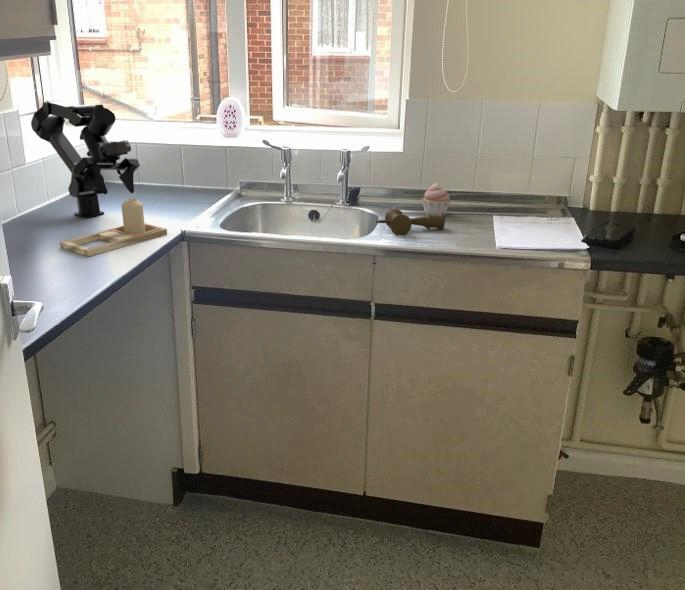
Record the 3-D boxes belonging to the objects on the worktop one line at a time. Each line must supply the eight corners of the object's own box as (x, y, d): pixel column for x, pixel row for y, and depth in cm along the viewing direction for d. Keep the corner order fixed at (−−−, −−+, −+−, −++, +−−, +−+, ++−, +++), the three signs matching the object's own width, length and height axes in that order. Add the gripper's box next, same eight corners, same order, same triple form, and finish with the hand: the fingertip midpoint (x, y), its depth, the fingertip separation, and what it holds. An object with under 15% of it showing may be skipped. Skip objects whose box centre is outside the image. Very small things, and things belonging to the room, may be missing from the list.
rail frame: (60, 247, 173) (59, 241, 172) (139, 226, 192) (138, 221, 191) (88, 256, 167) (87, 250, 166) (167, 234, 185) (166, 228, 185)
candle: (144, 237, 182) (140, 201, 179) (123, 238, 181) (119, 202, 178) (146, 232, 187) (143, 196, 184) (126, 232, 186) (122, 197, 183)
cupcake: (456, 217, 205) (458, 184, 201) (428, 219, 202) (430, 187, 198) (441, 209, 213) (443, 178, 209) (415, 212, 210) (416, 180, 206)
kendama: (447, 235, 189) (378, 236, 185) (437, 227, 198) (371, 227, 194) (449, 214, 187) (379, 215, 183) (439, 207, 196) (372, 207, 192)
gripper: (84, 127, 177) (108, 178, 175) (139, 130, 193) (161, 177, 191) (63, 150, 183) (86, 200, 181) (118, 151, 199) (139, 197, 197)
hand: (119, 193), depth 187 cm, fingers open, 9 cm apart
